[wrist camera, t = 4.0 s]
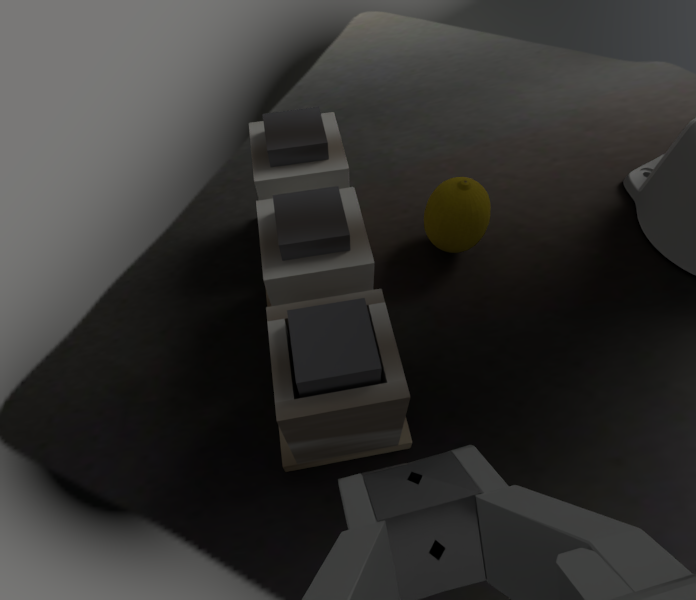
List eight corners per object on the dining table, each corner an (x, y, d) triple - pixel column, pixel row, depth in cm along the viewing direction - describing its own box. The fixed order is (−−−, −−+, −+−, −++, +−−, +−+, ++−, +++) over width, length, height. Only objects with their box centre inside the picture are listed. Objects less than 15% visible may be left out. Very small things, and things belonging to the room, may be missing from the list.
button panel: (260, 216, 45) (231, 107, 35) (348, 203, 46) (345, 93, 36) (285, 472, 32) (251, 414, 22) (410, 448, 32) (432, 382, 22)
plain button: (300, 361, 30) (287, 310, 25) (363, 350, 31) (364, 297, 25) (308, 424, 28) (296, 383, 23) (377, 411, 28) (381, 368, 23)
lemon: (486, 265, 41) (510, 202, 34) (426, 273, 41) (439, 210, 34) (469, 221, 44) (488, 155, 37) (413, 228, 44) (423, 162, 37)
